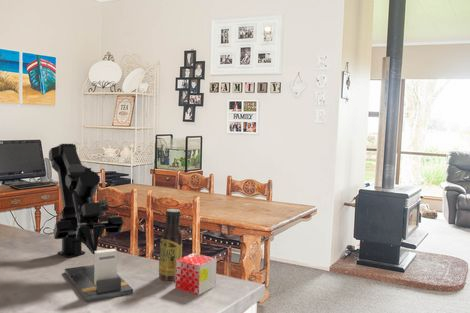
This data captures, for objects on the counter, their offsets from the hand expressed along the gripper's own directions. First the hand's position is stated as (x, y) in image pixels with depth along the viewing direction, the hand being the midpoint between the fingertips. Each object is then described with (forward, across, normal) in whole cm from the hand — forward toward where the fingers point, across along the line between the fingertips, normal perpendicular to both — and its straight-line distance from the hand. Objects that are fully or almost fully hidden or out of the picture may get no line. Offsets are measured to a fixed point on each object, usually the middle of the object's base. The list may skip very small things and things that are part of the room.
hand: (94, 253), depth 132 cm
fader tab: (+11, 0, -3) cm, 12 cm away
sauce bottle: (+11, +19, 0) cm, 22 cm away
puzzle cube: (+18, +23, -7) cm, 30 cm away
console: (+7, 0, +3) cm, 8 cm away
